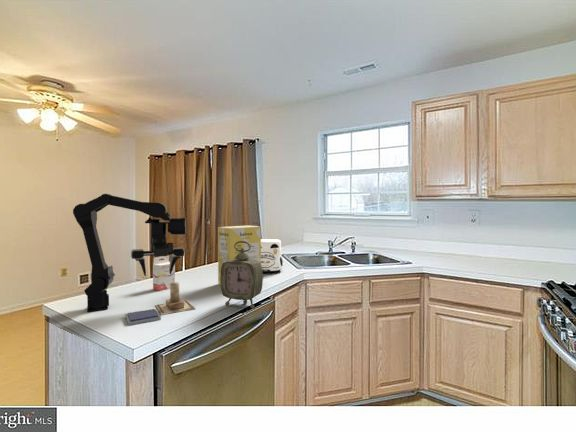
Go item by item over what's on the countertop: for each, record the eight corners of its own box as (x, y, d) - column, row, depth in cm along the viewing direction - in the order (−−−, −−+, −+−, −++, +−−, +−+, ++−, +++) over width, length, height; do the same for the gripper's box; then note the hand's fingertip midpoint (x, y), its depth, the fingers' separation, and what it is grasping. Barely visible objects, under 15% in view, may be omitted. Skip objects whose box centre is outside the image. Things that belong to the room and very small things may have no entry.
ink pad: (128, 325, 103) (127, 321, 102) (125, 316, 110) (125, 312, 110) (160, 319, 108) (160, 315, 108) (156, 311, 115) (156, 308, 115)
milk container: (260, 275, 174) (260, 243, 173) (248, 270, 189) (248, 239, 188) (288, 272, 182) (288, 241, 182) (274, 267, 198) (274, 238, 197)
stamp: (170, 310, 116) (169, 286, 116) (166, 305, 122) (165, 282, 122) (184, 308, 119) (183, 284, 118) (179, 303, 125) (179, 280, 124)
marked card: (161, 315, 112) (161, 313, 112) (155, 305, 122) (155, 304, 122) (195, 309, 119) (195, 308, 119) (187, 300, 129) (187, 299, 129)
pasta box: (248, 278, 168) (248, 225, 167) (260, 281, 161) (260, 226, 160) (218, 284, 156) (217, 227, 155) (230, 288, 148) (230, 228, 147)
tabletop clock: (220, 306, 121) (220, 241, 120) (232, 299, 130) (231, 239, 129) (255, 310, 117) (254, 243, 116) (264, 303, 125) (264, 240, 124)
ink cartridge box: (159, 291, 143) (158, 258, 142) (152, 289, 146) (152, 257, 145) (175, 287, 150) (175, 256, 149) (169, 285, 153) (168, 255, 152)
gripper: (133, 237, 112) (133, 281, 112) (187, 236, 121) (187, 276, 122) (131, 234, 122) (130, 275, 122) (181, 233, 131) (180, 271, 132)
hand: (157, 274), depth 124 cm, fingers open, 9 cm apart
